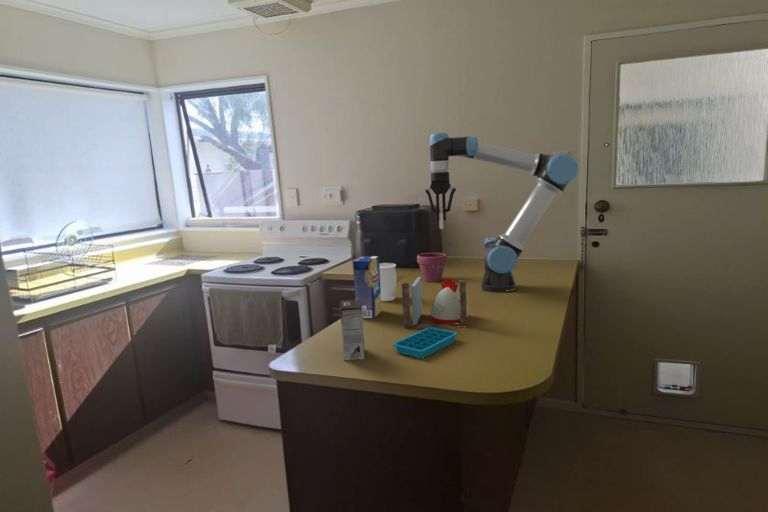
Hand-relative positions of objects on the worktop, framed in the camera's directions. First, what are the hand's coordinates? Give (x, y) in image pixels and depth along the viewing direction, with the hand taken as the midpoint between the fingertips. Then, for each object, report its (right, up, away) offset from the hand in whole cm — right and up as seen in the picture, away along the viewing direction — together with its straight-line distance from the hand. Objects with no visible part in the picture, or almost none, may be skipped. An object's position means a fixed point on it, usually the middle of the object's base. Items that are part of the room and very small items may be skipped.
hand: (441, 228), depth 213 cm
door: (-13, -35, -26) cm, 45 cm away
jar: (-23, -30, +6) cm, 39 cm away
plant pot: (0, -24, +38) cm, 45 cm away
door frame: (-6, -36, -35) cm, 51 cm away
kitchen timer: (0, -35, -26) cm, 44 cm away
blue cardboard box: (-30, -34, -17) cm, 48 cm away
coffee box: (-33, -42, -58) cm, 79 cm away
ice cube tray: (-11, -40, -54) cm, 68 cm away
